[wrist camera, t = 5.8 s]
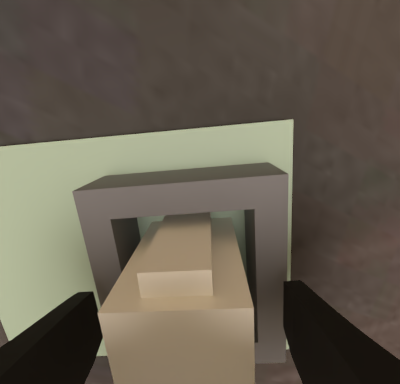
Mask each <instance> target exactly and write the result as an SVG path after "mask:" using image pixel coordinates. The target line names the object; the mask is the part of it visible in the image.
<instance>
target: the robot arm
mask: <svg viewBox="0 0 400 384" xmlns="http://www.w3.org/2000/svg"><path fill="white" fill-rule="evenodd" d="M97 313H98V308H97V304H96V300H95V296H94V292H93V291H90V292H78V293H76V294H74V295H73V296H71V297H70V298H68V299H67V300H66V301H64V302H63V303H61V304H60V305H59V306H57V307H56V308H54V309H53V310H52V311H50V312H49V313H48V314H46V315H45V316H43V317H42V318H41V319H39V320H38V321H37V322H35V323H34V324H33V325H31V326H30V327H28V328H27V329H26V330H24V331H23V332H22V333H20V334H19V335H17V336H16V337H15V338H13V339H12V340H10V341H9V342H7V343H6V344H5V345H3V346H2V347H0V384H84V383H85V381H86V379H87V376H88V374H89V372H90V370H91V368H92V366H93V364H94V361H95V358H96V355H97V353H98V350H99V347H100V344H101V341H102V338H103V335H102V331H101V326H100V322H99V318H98V314H97ZM283 328H284V331H285V335H286V338H287V342H288V345H289V348H290V352H291V355H292V358H293V361H294V363H295V366H296V368H297V371H298V373H299V376H300V378H301V380H302V383H303V384H400V360H399V359H398V358H396V357H395V356H393V355H392V354H391V353H389V352H388V351H387V350H385V349H384V348H383V347H381V346H380V345H379V344H377V343H376V342H375V341H373V340H372V339H371V338H369V337H368V336H367V335H365V334H364V333H363V332H362V331H360V330H359V329H358V328H356V327H355V326H354V325H353V324H351V323H350V322H349V321H348V320H347V319H345V318H344V317H343V316H342V315H340V314H339V313H338V312H337V311H336V310H334V309H333V308H332V307H331V306H330V305H329V304H327V303H326V302H325V301H324V300H323V299H322V298H320V297H319V296H318V295H317V294H316V293H315V292H313V291H312V290H311V289H310V288H309V287H308V286H307V285H305V284H304V283H303V282H302V281H301V280H298V281H283Z"/></svg>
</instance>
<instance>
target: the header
mask: <svg viewBox="0 0 400 384" xmlns="http://www.w3.org/2000/svg"><path fill="white" fill-rule="evenodd" d="M292 166H293V119H292V120H281V121H270V122H260V123H249V124H238V125H227V126H216V127H206V128H195V129H184V130H173V131H163V132H152V133H141V134H130V135H119V136H109V137H98V138H87V139H76V140H66V141H55V142H44V143H33V144H23V145H12V146H1V147H0V320H1V322H2V325H3V327H4V330H5V332H6V335H7V337H8V340H9V341H10V340H12V339H13V338H15V337H16V336H17V335H19V334H20V333H22V332H23V331H24V330H26V329H27V328H28V327H30V326H31V325H33V324H34V323H35V322H37V321H38V320H39V319H41V318H42V317H43V316H45V315H46V314H48V313H49V312H50V311H52V310H53V309H54V308H56V307H57V306H59V305H60V304H61V303H63V302H64V301H66V300H67V299H68V298H70V297H71V296H73V295H74V294H76V293H78V292H90V291H93V292H94V296H95V300H96V304H97V308H98V312H99V310H100V308H101V307H102V305H103V303H104V302H105V300H106V298H107V297H108V295H109V293H110V291H111V290H112V288H113V286H114V285H115V283H116V281H117V280H118V278H119V276H120V275H121V273H122V271H123V270H124V268H125V266H126V265H127V263H128V261H129V260H130V258H131V256H132V255H133V253H134V251H135V249H136V248H137V246H138V244H139V243H140V241H141V239H142V238H143V236H144V234H145V233H146V231H147V229H148V228H149V226H150V224H151V223H152V222H154V221H163V218H164V216H165V215H178V214H192V213H206V212H211V218H226V217H231V219H232V223H233V227H234V231H235V235H236V239H237V243H238V247H239V251H240V255H241V259H242V263H243V267H244V271H245V275H246V279H247V283H248V287H249V291H250V295H251V299H252V303H253V307H254V352H255V364H263V363H286V349H289V345H288V342H287V338H286V335H285V331H284V328H283V281H290V276H291V221H292ZM96 356H107V352H106V348H105V343H104V339H103V338H102V341H101V344H100V347H99V350H98V353H97V355H96Z"/></svg>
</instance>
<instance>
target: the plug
mask: <svg viewBox="0 0 400 384" xmlns="http://www.w3.org/2000/svg"><path fill="white" fill-rule="evenodd" d="M97 314H98V318H99V322H100V326H101V331H102V335H103V339H104V343H105V348H106V352H107V356H108V360H109V364H110V369H111V373H112V377H113V381H114V384H255V352H254V307H253V303H252V299H251V295H250V291H249V287H248V283H247V279H246V275H245V271H244V267H243V263H242V259H241V255H240V251H239V247H238V243H237V239H236V235H235V231H234V227H233V223H232V219H231V217H226V218H211V212H206V213H192V214H178V215H165V216H164V218H163V221H154V222H152V223H151V224H150V226H149V228H148V229H147V231H146V233H145V234H144V236H143V238H142V239H141V241H140V243H139V244H138V246H137V248H136V249H135V251H134V253H133V255H132V256H131V258H130V260H129V261H128V263H127V265H126V266H125V268H124V270H123V271H122V273H121V275H120V276H119V278H118V280H117V281H116V283H115V285H114V286H113V288H112V290H111V291H110V293H109V295H108V297H107V298H106V300H105V302H104V303H103V305H102V307H101V308H100V310H99V312H98V313H97Z"/></svg>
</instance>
